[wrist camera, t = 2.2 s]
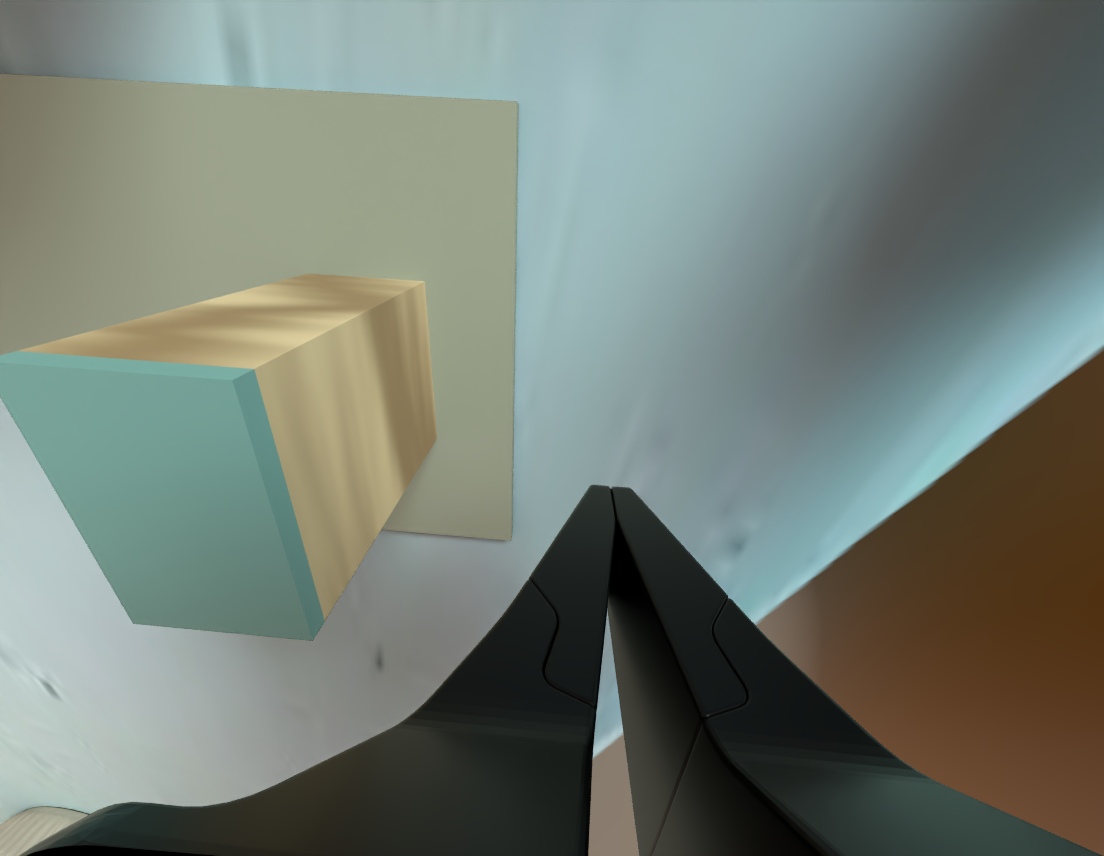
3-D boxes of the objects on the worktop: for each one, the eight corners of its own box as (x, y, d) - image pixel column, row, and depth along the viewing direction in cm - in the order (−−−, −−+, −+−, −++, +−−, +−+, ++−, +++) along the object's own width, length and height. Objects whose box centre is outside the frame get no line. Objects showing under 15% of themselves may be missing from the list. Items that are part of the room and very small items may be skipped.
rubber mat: (518, 104, 12) (516, 101, 12) (512, 534, 20) (510, 540, 20) (-143, 68, 13) (-163, 65, 13) (90, 498, 21) (82, 503, 20)
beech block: (424, 281, 15) (232, 380, 7) (437, 438, 17) (312, 640, 9) (307, 273, 15) (-21, 361, 7) (338, 430, 17) (133, 623, 10)
